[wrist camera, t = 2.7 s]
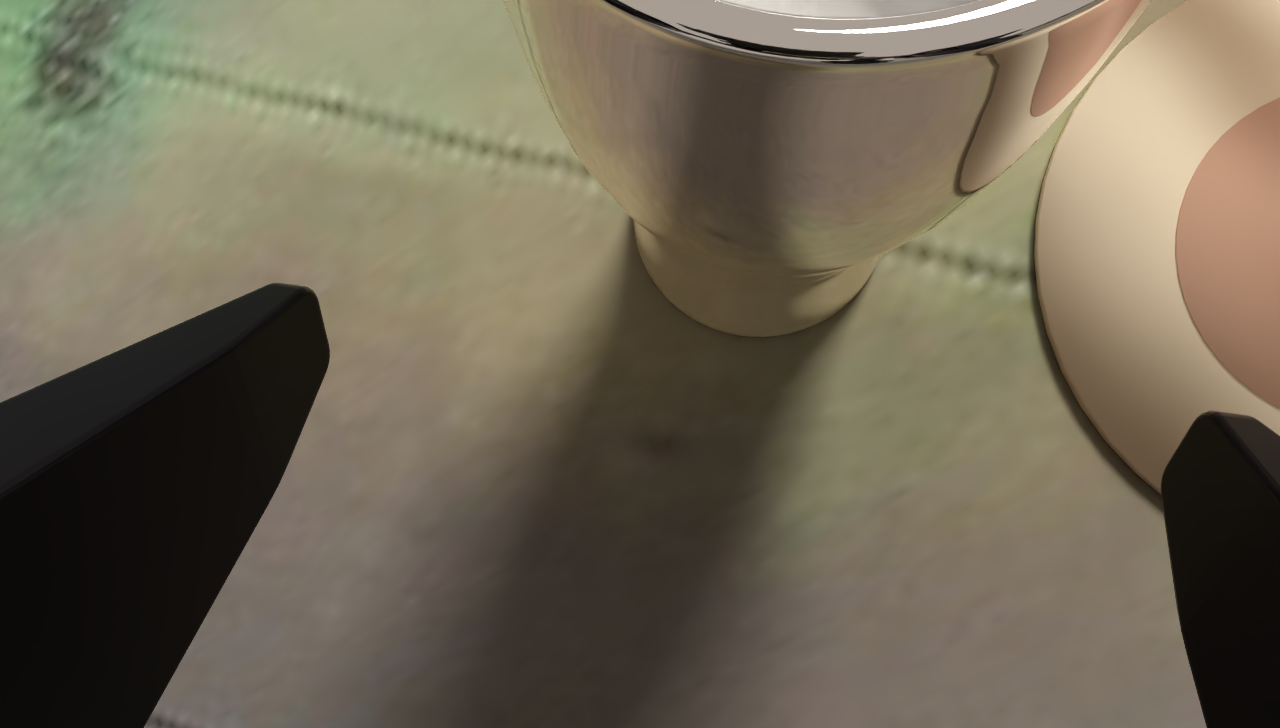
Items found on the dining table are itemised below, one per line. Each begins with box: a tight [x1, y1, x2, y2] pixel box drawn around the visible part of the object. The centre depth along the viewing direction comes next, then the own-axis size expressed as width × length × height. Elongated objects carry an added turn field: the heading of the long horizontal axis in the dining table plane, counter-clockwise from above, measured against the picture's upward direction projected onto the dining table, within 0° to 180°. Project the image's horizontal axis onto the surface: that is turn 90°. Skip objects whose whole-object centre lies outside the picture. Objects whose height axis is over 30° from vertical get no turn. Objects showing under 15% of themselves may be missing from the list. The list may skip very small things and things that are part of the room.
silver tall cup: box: [503, 0, 1151, 337], centre depth 14 cm, size 7×7×15 cm
